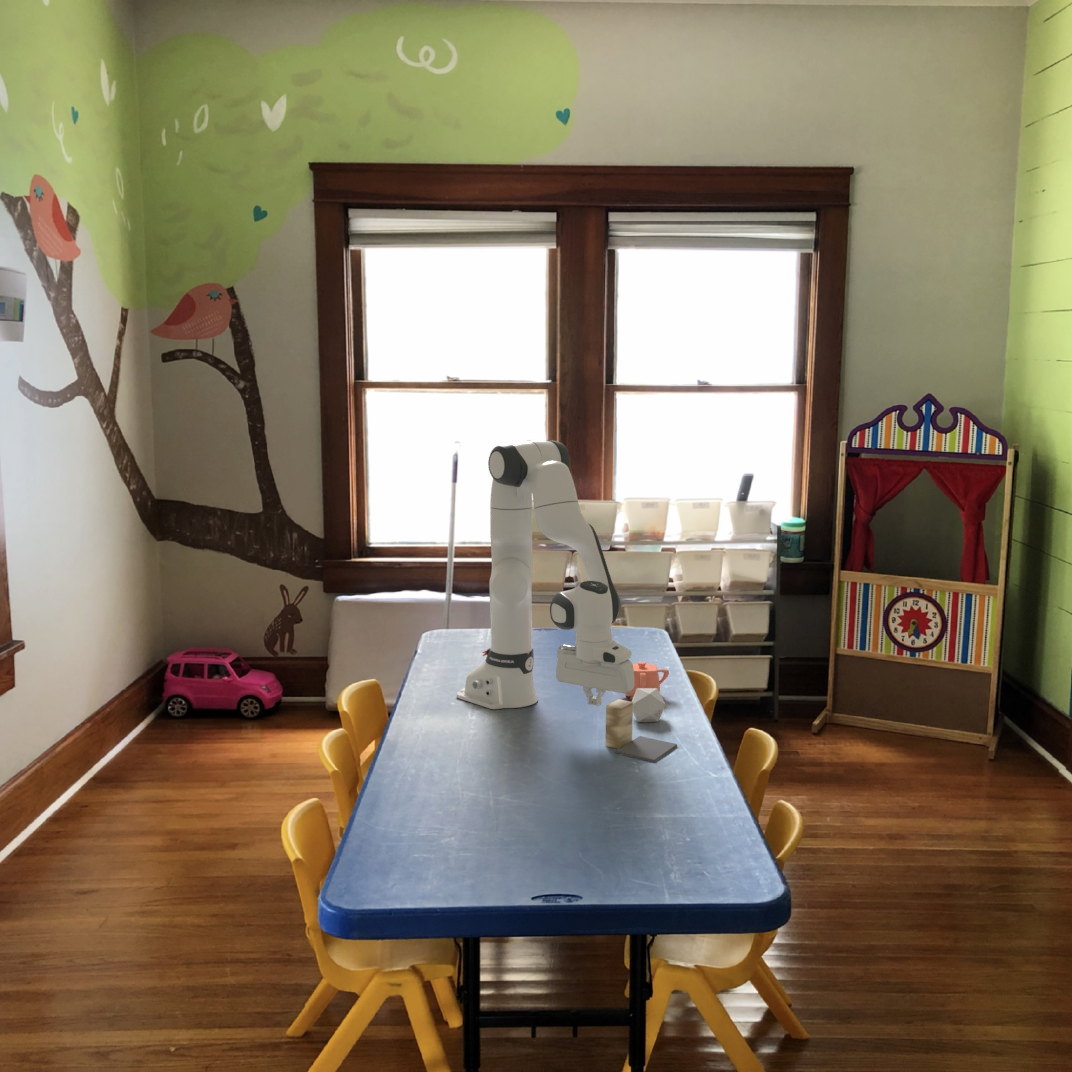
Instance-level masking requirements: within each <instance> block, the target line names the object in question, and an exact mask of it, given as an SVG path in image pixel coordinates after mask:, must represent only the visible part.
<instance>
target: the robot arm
mask: <svg viewBox="0 0 1072 1072" xmlns="http://www.w3.org/2000/svg"><path fill="white" fill-rule="evenodd" d="M487 461H488V464H487V465H488V471H489V474H490V475H491V478H492V482H491V488H490V489H491V490H490V505H489V506H490V508H489V509H490V510H489V511H490V520H489V521H490V522H489V523H490V529H489V530H490V531H489V532H490V549H491V551H490V552H491V553H490V554H491V572H490V577H489V581H488V582H489V588H488V589H489V608H490V609H489V610H490V611H489V612H490V614H489V616H490V647H489V648H488V649H487V650H485V651H482V652H481V653H483V654H482V657H484V656H486V658H485V661H484V662H482V663H481V664H479V665H478V666H477V667H475V668H474V669H473V670H471V671H470V672H469V673H468V674H467V676H466V679H465V684H464V687H463V688H460V690H458V691H457V692H456V698H457V699H460V700H463V701H466V702H470V703H472V704H475V705H478V706H481V707H485V708H487V709H490V710H500V709H501V710H502V709H516V708H524V707H525V708H526V707H529V706H531V705H532V706H533V705H534V704H536V703H537V702H538V700H539V698H538V695H537V690H536V685H535V680H534V679H535V678H534V664H535V662H534V659H535V658H534V648H533V609H532V608H533V604H532V603H533V602H532V601H533V600H532V599H533V597H532V596H533V591H532V590H533V586H532V585H533V509H534V515H535V516H534V517H535V521H536V525H537V528H538V530H539V531H540V533H542V534H543V535H544V536H545V537H546V538H547V539H549V540H551V541H553V542H555V543H559V544H561V545H565V546H568V547H570V548H572V549H574V550H575V551H576V552H578V553H579V555H580V557H581V560H582V563H583V566H584V569H585V573H586V575H587V579H588V580H585V581H581V582H580V583H578V584H577V585H576V587H574V588H572V589H568V590H564V591H560V592H557V593H555V595H554V596H553V597H552V599H551V602H550V607H549V615H550V619H551V622H552V623H553V624H554V625H555V626H556V627H557V628H559V629H560V630H563V631H566V630H567V631H569V630H571V631H572V630H573V631H575V633H576V634H575V645H568V644H562V645H560V646H559V647H558V648H557V650H556V652H557V653H556V656H557V657H556V658H557V660H556V661H557V662H556V667H555V678H556V679H557V681H558V682H559V683H564V684H568V685H569V684H570V685H575V686H580V687H582V690H583V692H584V694H585V697H586V698H587V704H588V705H590V706H591V705H592V706H595V707H599V706H601V705H602V698H603V696H604V695H605V693H606V691H609V692H613V693H614V692H615V693H619V694H625V695H626V693H628V692H630V691H631V690H632V689H633V688H634V669H633V665H632V664H633V663H632V661H631V660H630V659H631V658H632V651H631V649H629V648H628V647H625V646H623V645H622V644H619V643H618V642H617V641H614V640H613V639H614V638H613V633H612V632H613V631H612V624H613V623H614V622H615V621H616V620H617V618H618V617H619V615H620V612H621V608H622V602H621V598H620V595H619V594H618V592H617V589H616V587H615V586H614V583H613V581H612V578H611V575H610V572H609V568H608V565H607V561H606V558H605V555H604V551H603V549H602V546H601V544H600V543H601V542H600V540H599V537H598V535H597V531H596V530H595V528H594V527H593V525H591V523H589V522H587V520H586V518H585V517H584V516H583V513H582V511H581V508H580V504H579V499H578V495H577V494H578V493H577V490H576V486H575V483H574V478H573V476H572V473H571V471H570V467H571V466H570V465H571V456H570V454H569V450H568V448H567V447H566V445H565V444H564V443H563V442H560V441H557V440H554V439H553V440H552V439H551V440H550V439H547V440H539V439H537V440H536V439H533V440H532V439H531V440H530V439H529V440H526V441H517V442H512V443H510V442H505V443H501V444H499V445H497V446H495V447H494V448H493V449H491V451H490V454H489V457H488V460H487ZM592 689H595V690H596V691H595V692H596V693H597V695H596V696H595V695H594V694H593V691H592Z"/></svg>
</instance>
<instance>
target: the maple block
mask: <svg viewBox="0 0 1072 1072" xmlns="http://www.w3.org/2000/svg"><path fill="white" fill-rule="evenodd" d="M633 715H634V713H633V702H632V701H631V700H630V701H629V700H625V699H619V698H618V699H616V700H614V701H612V702H610V703H609V704H607V705H605V743H604V745H605V747H607V748H608V747H609V748H612V749H613V748H614V749H617V750H618V749H620V748H622V747H623V746H625V745H626V744H628V743H629V742H631V741H633V719H634V718H633Z"/></svg>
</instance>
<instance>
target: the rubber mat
mask: <svg viewBox="0 0 1072 1072" xmlns="http://www.w3.org/2000/svg"><path fill="white" fill-rule="evenodd" d="M677 747H678V744H677V743H674V742H669V741H665V740H660V739H655V738H651V737H646V736H641V735H639V736H637V737H636V738H634V739H632V741H631V742H629V743H628V744H626V745H625V746H623V747H622V748H620V749H617V750H616V751H615V754H617V755H621V756H626V757H630V758H633V759H638V760H643V761H647V762H652V763H656V762H657V761H658V760H660V759H662V758H663V757H664V756H666V755H667V754H669V753H670V752H671V751H673V750H674V749H676V748H677Z"/></svg>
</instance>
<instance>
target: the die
mask: <svg viewBox="0 0 1072 1072" xmlns="http://www.w3.org/2000/svg"><path fill="white" fill-rule="evenodd" d="M631 702H633V715H634V717H635V719H636V721H637V723H659V721H660V719H661V717H662V714H663V712H664V710H665V707H666V703H665V700H664V699H663V697H662V694H661V691H660V692H659V690H658V688H637V689H636V692H635V694H634V697H633V699H632V700H631Z"/></svg>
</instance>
